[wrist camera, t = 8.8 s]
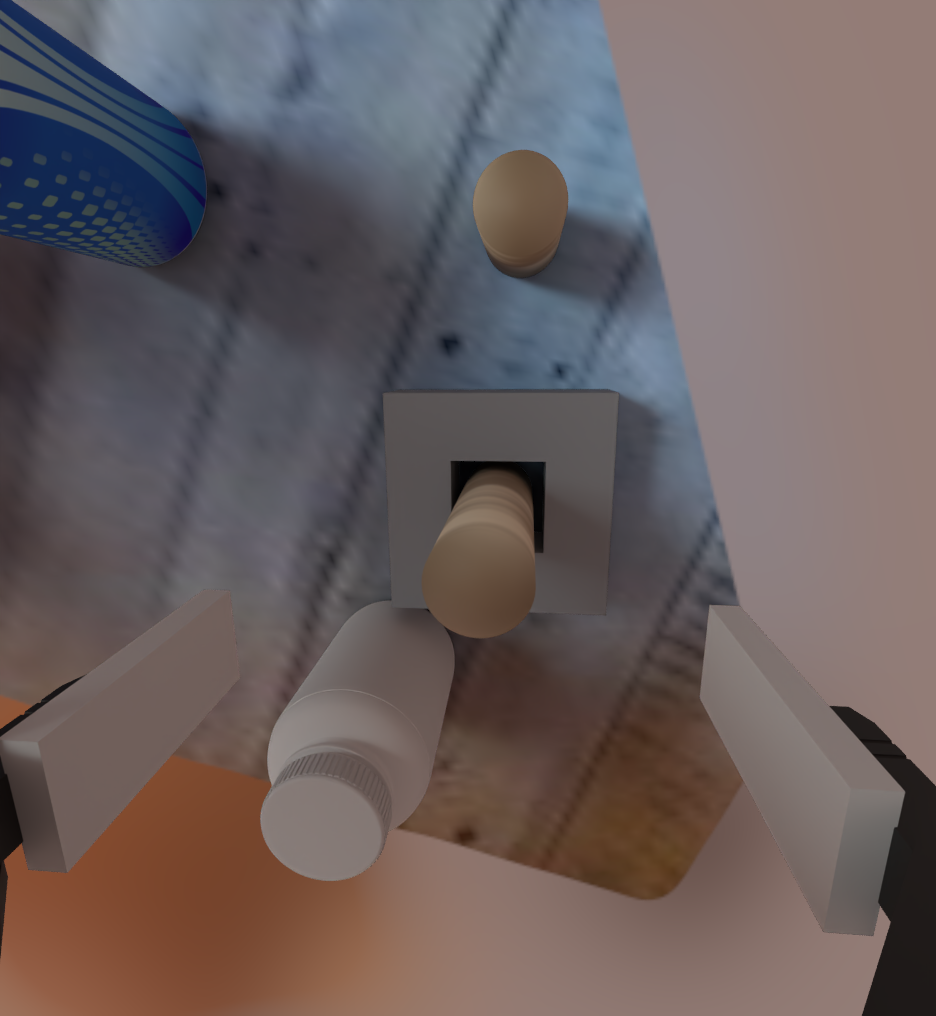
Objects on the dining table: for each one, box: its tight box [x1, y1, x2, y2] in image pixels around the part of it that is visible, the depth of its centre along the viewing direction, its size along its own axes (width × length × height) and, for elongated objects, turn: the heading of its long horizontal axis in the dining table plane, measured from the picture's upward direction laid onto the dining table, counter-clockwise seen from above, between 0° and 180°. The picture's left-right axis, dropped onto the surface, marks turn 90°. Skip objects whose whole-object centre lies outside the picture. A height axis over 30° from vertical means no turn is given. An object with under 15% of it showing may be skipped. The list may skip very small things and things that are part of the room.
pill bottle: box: [260, 600, 455, 881], centre depth 30 cm, size 8×8×15 cm
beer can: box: [0, 0, 207, 267], centre depth 24 cm, size 8×8×16 cm
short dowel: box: [473, 150, 568, 278], centre depth 27 cm, size 4×4×7 cm
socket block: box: [383, 389, 619, 615], centre depth 32 cm, size 12×12×4 cm
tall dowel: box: [422, 461, 536, 638], centre depth 27 cm, size 4×4×15 cm
